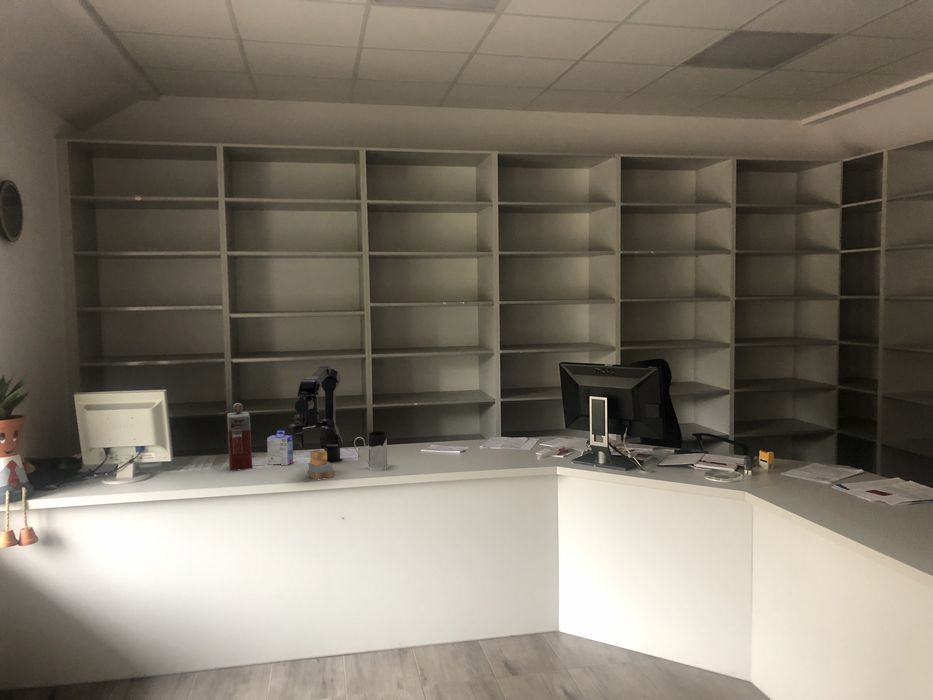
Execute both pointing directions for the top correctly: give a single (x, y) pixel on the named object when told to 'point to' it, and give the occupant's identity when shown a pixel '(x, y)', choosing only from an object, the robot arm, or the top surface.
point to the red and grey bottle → (239, 438)
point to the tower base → (321, 474)
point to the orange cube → (318, 457)
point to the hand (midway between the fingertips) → (312, 446)
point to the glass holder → (376, 450)
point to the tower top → (320, 468)
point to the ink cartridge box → (280, 449)
